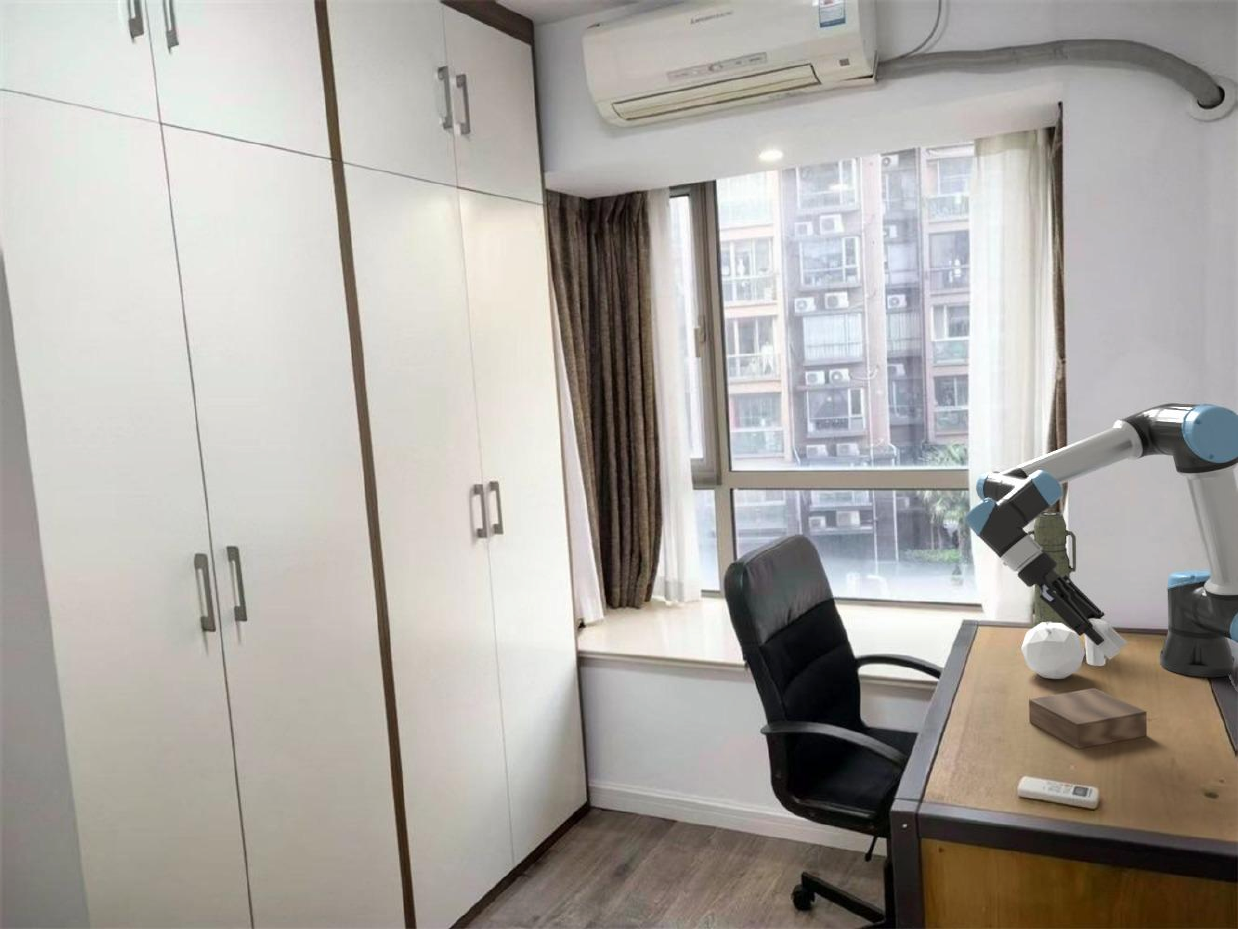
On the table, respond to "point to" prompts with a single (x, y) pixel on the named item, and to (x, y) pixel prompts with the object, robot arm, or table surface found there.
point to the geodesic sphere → (1053, 650)
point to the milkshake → (1092, 651)
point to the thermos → (1053, 542)
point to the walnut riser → (1087, 718)
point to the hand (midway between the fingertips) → (1118, 651)
